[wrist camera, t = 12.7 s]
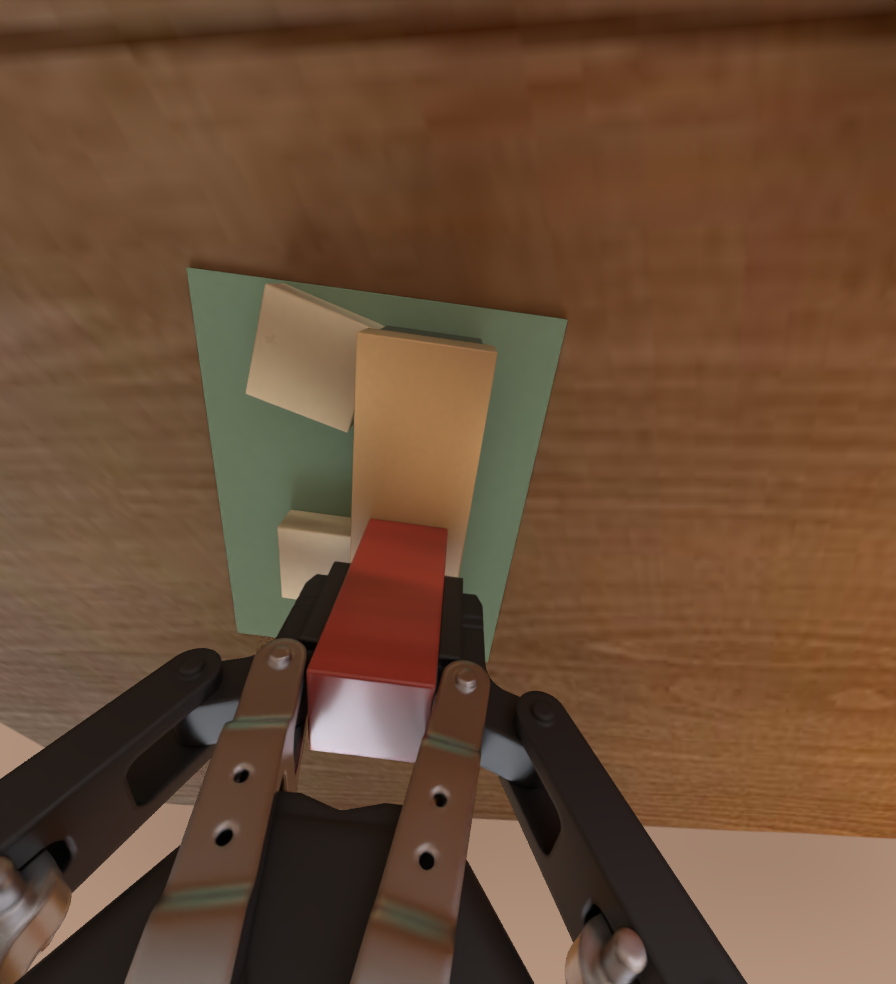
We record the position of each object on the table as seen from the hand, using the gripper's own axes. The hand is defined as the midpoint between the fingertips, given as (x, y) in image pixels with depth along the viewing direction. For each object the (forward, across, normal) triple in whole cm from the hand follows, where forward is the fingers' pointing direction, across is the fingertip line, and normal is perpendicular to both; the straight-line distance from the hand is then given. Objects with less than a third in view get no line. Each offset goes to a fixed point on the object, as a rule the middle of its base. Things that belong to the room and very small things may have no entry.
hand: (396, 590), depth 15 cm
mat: (+6, +2, 0) cm, 6 cm away
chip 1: (+5, +4, -6) cm, 9 cm away
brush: (+5, 0, 0) cm, 5 cm away
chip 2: (+5, +4, +3) cm, 7 cm away
